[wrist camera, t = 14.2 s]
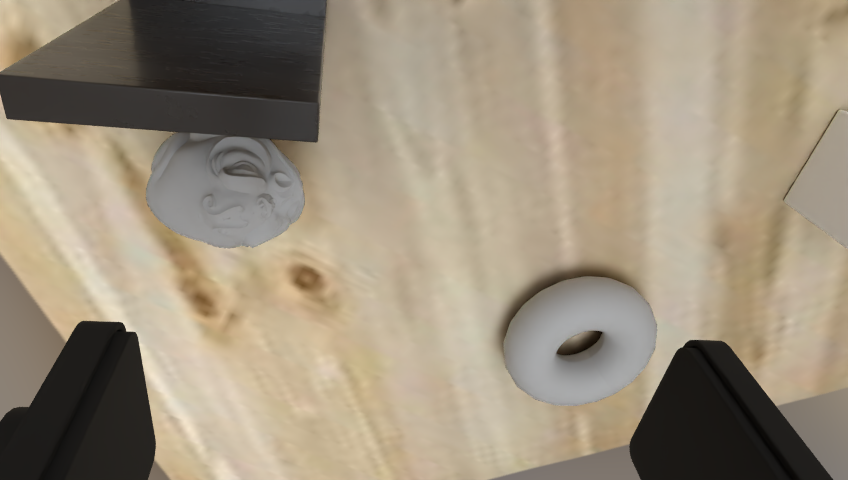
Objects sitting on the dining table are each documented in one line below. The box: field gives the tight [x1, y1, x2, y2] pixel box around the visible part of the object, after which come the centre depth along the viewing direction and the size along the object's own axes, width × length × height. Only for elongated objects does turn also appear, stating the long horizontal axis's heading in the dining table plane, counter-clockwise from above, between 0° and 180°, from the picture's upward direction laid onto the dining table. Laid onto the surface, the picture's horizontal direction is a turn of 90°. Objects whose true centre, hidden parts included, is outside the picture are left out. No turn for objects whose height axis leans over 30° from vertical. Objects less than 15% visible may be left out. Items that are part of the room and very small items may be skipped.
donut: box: [503, 276, 657, 406], centre depth 37 cm, size 10×4×10 cm
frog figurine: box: [146, 132, 305, 248], centre depth 26 cm, size 6×7×7 cm
